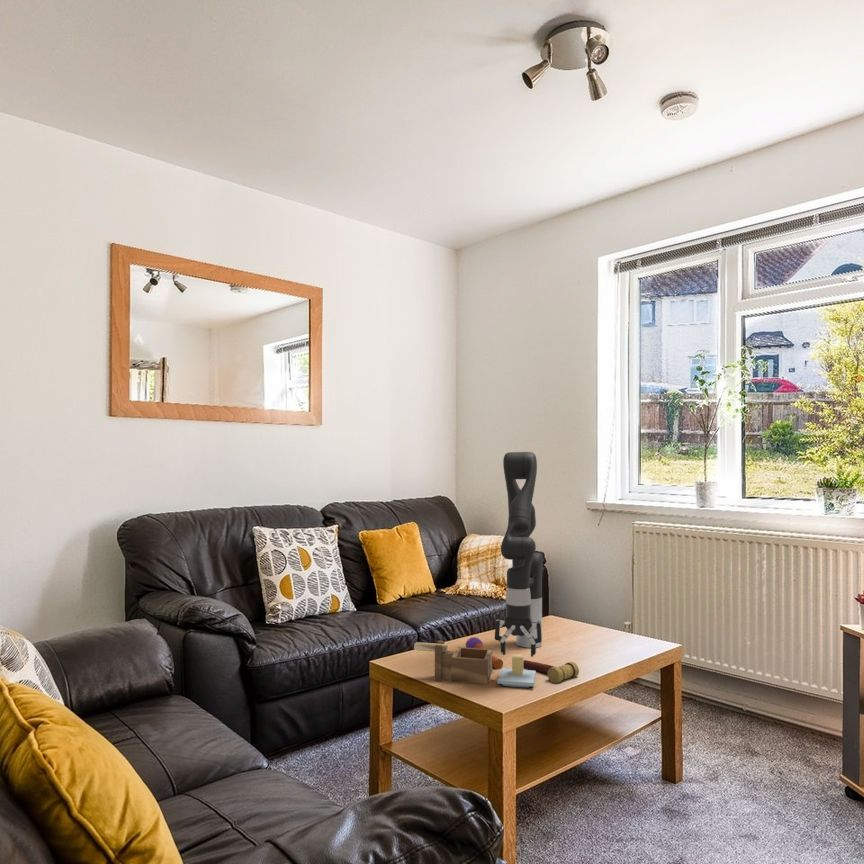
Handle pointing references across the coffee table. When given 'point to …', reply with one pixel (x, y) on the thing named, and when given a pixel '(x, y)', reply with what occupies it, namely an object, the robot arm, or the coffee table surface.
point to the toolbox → (463, 664)
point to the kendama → (477, 643)
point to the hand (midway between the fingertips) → (518, 655)
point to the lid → (517, 674)
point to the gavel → (554, 670)
